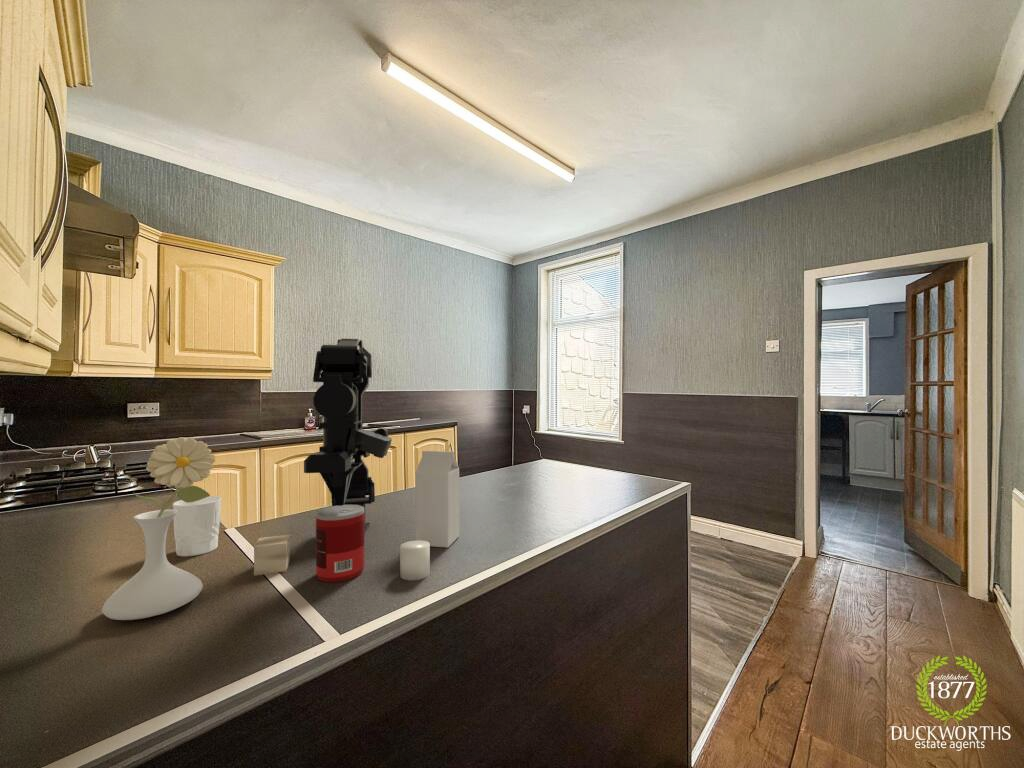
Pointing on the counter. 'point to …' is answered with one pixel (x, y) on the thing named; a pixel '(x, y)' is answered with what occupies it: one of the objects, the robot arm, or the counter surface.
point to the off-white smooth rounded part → (414, 560)
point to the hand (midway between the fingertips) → (340, 505)
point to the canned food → (340, 542)
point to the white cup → (197, 526)
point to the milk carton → (437, 498)
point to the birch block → (271, 554)
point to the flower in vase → (163, 536)
